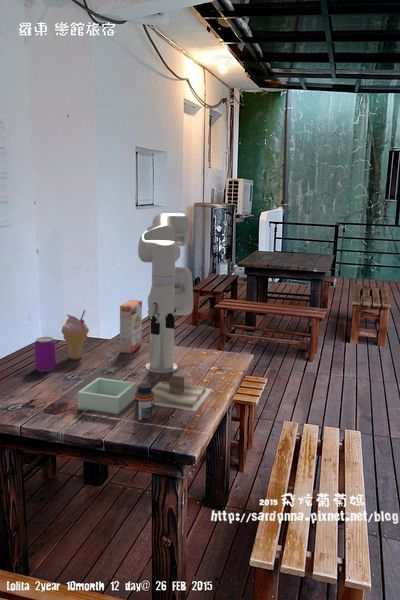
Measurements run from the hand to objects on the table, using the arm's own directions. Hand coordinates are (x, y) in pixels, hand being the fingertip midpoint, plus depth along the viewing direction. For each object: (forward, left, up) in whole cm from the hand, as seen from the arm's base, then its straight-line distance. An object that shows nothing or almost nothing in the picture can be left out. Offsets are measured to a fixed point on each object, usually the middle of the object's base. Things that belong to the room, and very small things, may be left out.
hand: (162, 331), depth 176 cm
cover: (-1, +5, -23) cm, 23 cm away
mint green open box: (+13, -14, -23) cm, 30 cm away
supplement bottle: (+20, +2, -23) cm, 30 cm away
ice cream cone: (-26, -48, -23) cm, 59 cm away
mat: (-1, +5, -23) cm, 24 cm away
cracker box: (-46, -32, -23) cm, 61 cm away
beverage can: (-10, -52, -23) cm, 58 cm away
